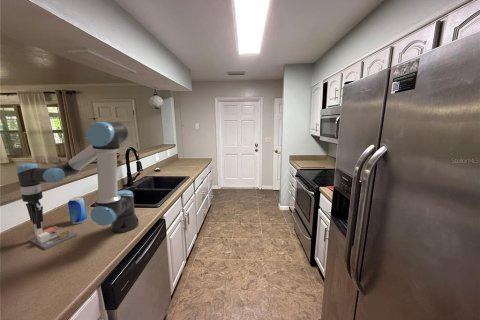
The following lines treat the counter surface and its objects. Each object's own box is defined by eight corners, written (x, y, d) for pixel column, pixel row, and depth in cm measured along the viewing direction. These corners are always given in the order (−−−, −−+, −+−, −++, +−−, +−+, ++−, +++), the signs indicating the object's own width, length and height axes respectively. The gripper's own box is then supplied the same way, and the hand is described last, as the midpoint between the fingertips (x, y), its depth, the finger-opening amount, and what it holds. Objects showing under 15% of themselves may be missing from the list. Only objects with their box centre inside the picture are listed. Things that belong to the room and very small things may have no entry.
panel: (77, 235, 113) (76, 232, 113) (45, 249, 101) (44, 245, 101) (60, 228, 121) (60, 225, 121) (29, 240, 108) (28, 236, 108)
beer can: (90, 218, 134) (87, 196, 131) (79, 225, 125) (75, 201, 122) (79, 218, 134) (75, 195, 131) (67, 224, 126) (63, 200, 123)
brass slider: (69, 235, 111) (68, 230, 111) (60, 239, 108) (59, 233, 107) (65, 234, 113) (64, 228, 112) (57, 237, 109) (56, 231, 109)
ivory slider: (51, 239, 108) (50, 233, 107) (41, 243, 104) (40, 237, 104) (47, 237, 110) (46, 231, 109) (37, 241, 106) (36, 235, 105)
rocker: (59, 229, 115) (59, 227, 115) (41, 236, 108) (40, 234, 108) (55, 227, 117) (54, 225, 117) (37, 234, 110) (36, 232, 110)
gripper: (47, 192, 105) (53, 232, 110) (35, 188, 111) (42, 227, 115) (27, 196, 99) (35, 239, 103) (16, 192, 104) (24, 233, 108)
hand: (39, 233), depth 109 cm, fingers closed
